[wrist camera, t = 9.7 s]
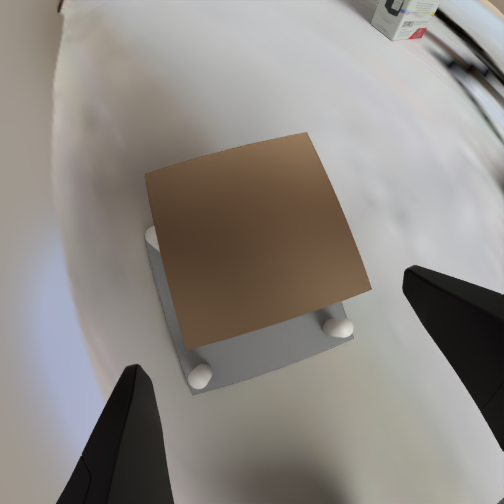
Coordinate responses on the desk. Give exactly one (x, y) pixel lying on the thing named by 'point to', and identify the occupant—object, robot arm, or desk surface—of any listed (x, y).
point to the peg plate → (249, 339)
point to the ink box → (404, 18)
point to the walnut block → (252, 239)
